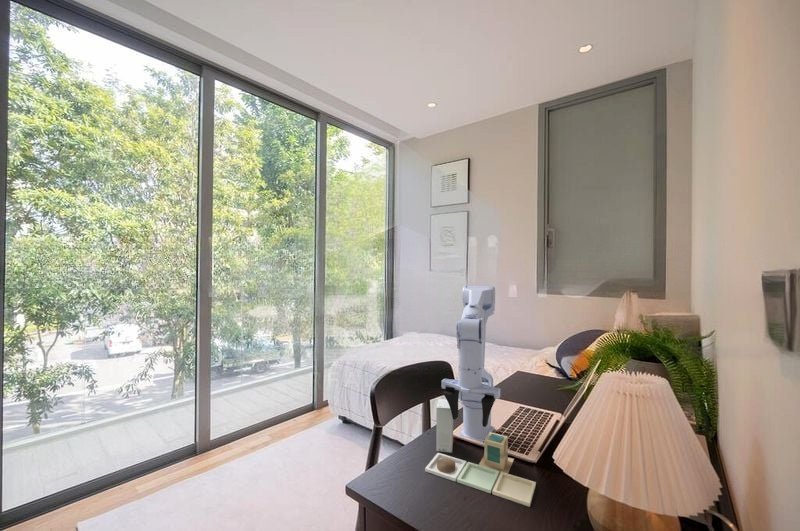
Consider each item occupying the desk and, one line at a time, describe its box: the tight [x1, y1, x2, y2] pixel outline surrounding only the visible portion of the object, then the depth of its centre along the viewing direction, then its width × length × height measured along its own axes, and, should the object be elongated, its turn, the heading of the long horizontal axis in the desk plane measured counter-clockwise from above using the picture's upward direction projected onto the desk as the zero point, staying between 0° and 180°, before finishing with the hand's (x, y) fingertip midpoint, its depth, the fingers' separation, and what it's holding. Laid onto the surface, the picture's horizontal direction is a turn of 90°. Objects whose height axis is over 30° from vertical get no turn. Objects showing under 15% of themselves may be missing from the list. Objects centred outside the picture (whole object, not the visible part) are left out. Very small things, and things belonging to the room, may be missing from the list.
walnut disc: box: [437, 458, 455, 473], centre depth 83 cm, size 4×4×1 cm
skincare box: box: [435, 398, 454, 453], centre depth 93 cm, size 6×4×12 cm
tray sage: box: [456, 461, 500, 494], centre depth 79 cm, size 8×8×1 cm
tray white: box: [424, 452, 468, 482], centre depth 83 cm, size 8×8×1 cm
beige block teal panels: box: [483, 432, 509, 470], centre depth 85 cm, size 5×4×6 cm
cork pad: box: [478, 455, 515, 474], centre depth 85 cm, size 7×7×1 cm
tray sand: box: [491, 472, 537, 508], centre depth 75 cm, size 8×8×1 cm
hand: (469, 421), depth 86 cm, fingers open, 7 cm apart
